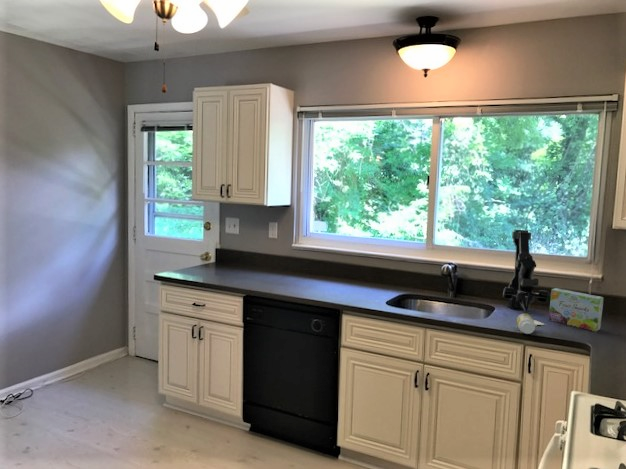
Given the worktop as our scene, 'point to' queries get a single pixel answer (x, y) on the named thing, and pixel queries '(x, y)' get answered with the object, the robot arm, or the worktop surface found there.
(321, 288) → the worktop surface
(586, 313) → the snack box
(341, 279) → the worktop surface
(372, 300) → the worktop surface
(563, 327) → the worktop surface
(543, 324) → the cream tile
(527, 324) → the supplement bottle
